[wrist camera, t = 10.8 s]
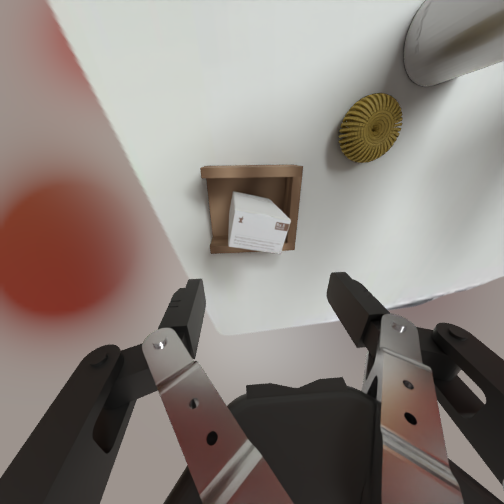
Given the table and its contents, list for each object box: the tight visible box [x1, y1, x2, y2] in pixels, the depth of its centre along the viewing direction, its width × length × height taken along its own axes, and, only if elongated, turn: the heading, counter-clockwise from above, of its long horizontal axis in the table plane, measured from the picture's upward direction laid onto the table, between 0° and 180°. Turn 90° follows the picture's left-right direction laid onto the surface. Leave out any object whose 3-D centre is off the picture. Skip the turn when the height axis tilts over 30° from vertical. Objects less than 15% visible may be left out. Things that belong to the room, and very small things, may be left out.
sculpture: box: [339, 93, 402, 163], centre depth 26 cm, size 8×4×8 cm
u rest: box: [200, 165, 303, 254], centre depth 29 cm, size 13×12×5 cm
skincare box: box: [228, 191, 291, 254], centre depth 25 cm, size 6×4×12 cm
